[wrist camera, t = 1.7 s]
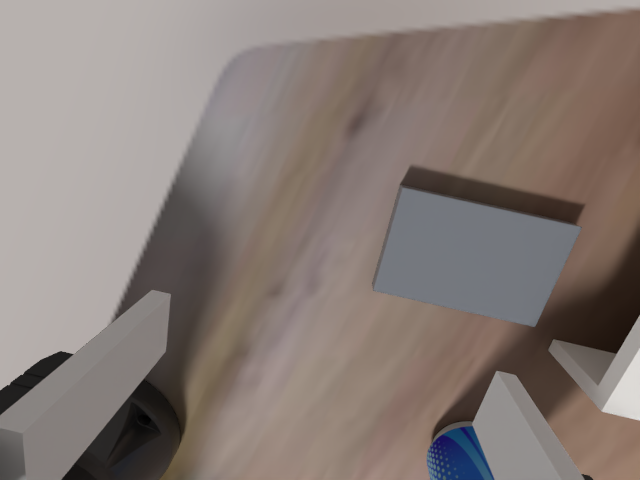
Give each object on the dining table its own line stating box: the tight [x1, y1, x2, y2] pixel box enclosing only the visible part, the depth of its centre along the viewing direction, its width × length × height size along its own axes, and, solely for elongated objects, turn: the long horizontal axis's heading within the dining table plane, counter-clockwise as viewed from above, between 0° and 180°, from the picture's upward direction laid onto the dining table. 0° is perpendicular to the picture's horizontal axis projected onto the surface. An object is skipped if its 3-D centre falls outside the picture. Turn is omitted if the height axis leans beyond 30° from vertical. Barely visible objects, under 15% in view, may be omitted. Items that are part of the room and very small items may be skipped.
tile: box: [372, 185, 582, 327], centre depth 29 cm, size 14×9×2 cm, turn 78°
